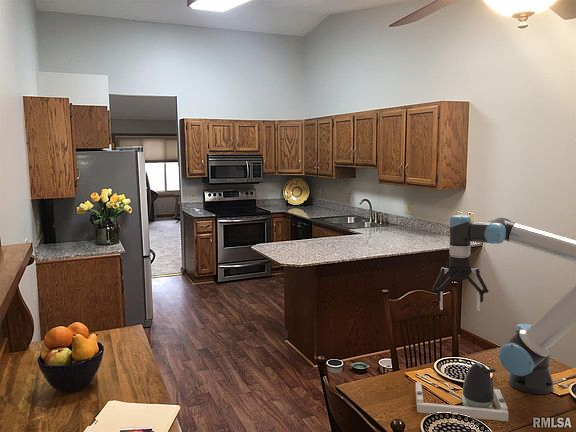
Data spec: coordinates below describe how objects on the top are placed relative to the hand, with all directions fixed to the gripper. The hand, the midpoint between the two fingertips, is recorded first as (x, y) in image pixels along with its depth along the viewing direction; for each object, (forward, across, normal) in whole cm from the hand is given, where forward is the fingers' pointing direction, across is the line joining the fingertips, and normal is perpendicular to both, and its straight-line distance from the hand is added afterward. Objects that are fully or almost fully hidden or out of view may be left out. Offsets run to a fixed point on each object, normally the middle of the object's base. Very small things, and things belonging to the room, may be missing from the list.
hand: (459, 309), depth 178 cm
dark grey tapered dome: (+28, -4, +20) cm, 35 cm away
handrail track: (+28, +3, +21) cm, 35 cm away
